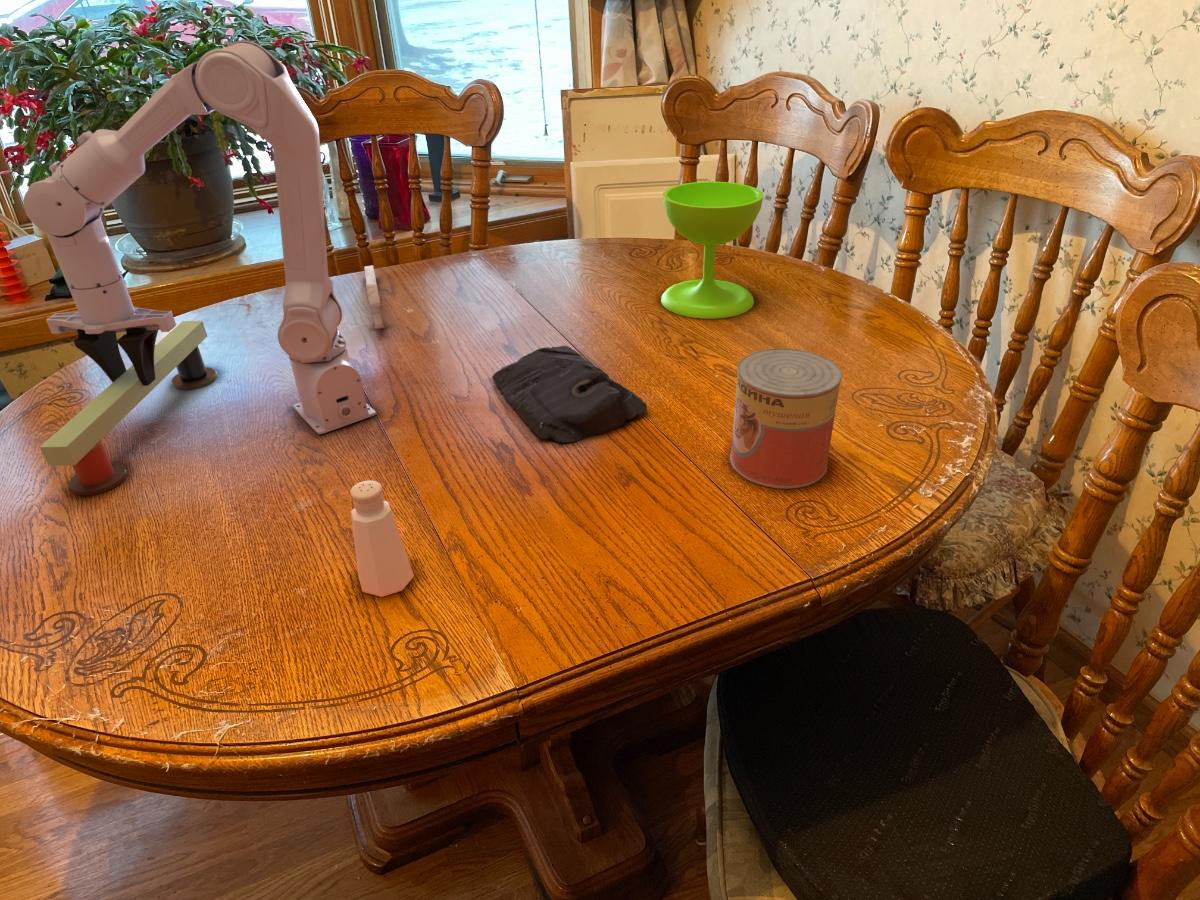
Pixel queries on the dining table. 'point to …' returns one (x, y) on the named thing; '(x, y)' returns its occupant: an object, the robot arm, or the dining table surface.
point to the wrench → (374, 297)
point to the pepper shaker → (377, 542)
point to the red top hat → (96, 473)
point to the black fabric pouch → (565, 395)
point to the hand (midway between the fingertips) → (135, 382)
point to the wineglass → (710, 244)
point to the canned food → (784, 417)
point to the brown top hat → (193, 372)
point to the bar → (119, 398)
